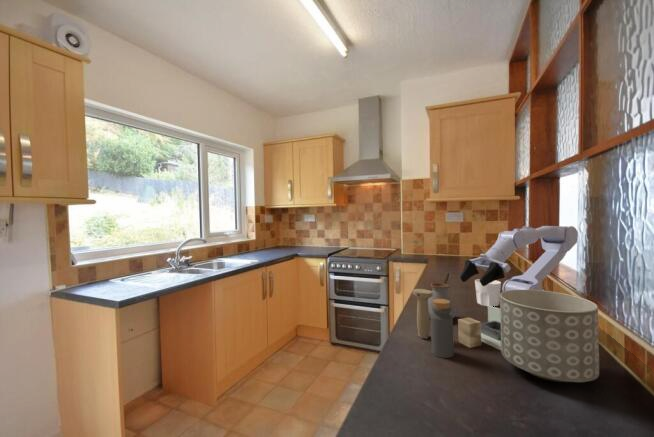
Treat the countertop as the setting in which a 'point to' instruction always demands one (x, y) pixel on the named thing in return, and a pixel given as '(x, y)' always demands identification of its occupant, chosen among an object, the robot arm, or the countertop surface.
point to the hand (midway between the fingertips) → (471, 281)
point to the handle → (422, 311)
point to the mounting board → (494, 315)
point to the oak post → (469, 332)
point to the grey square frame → (491, 329)
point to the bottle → (442, 329)
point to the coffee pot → (440, 296)
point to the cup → (488, 293)
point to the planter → (550, 334)
